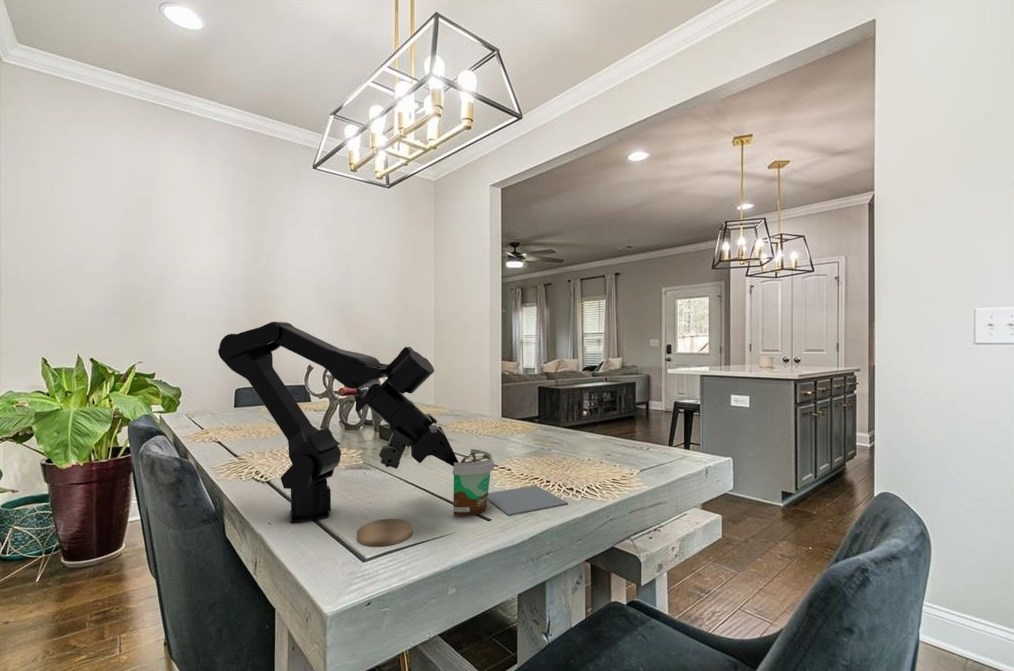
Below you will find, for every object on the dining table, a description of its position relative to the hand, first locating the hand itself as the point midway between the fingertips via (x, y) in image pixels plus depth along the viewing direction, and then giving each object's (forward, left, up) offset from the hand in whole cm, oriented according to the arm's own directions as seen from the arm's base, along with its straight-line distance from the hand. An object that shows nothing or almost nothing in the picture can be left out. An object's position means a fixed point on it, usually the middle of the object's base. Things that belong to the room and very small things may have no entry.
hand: (457, 465), depth 89 cm
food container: (+4, 0, -9) cm, 10 cm away
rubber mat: (+14, +1, -9) cm, 17 cm away
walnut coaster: (-14, -4, -9) cm, 17 cm away
